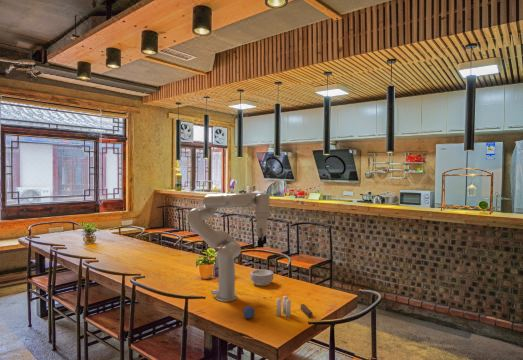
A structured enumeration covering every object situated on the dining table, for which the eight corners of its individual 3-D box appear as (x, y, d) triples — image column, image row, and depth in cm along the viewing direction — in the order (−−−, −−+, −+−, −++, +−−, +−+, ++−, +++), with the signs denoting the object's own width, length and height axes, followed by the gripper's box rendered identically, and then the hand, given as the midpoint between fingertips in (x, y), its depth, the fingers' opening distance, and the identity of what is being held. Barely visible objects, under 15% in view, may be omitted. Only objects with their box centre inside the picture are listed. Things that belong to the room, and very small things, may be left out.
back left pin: (282, 313, 185) (283, 297, 185) (283, 311, 188) (283, 295, 187) (287, 313, 185) (287, 297, 185) (287, 312, 187) (287, 296, 187)
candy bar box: (222, 272, 259) (222, 250, 258) (226, 273, 255) (227, 251, 255) (210, 275, 250) (210, 252, 250) (215, 276, 247) (215, 253, 246)
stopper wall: (308, 317, 180) (308, 312, 180) (300, 308, 192) (300, 304, 192) (312, 317, 181) (312, 312, 181) (304, 308, 193) (304, 303, 192)
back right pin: (285, 317, 180) (286, 301, 180) (285, 315, 183) (286, 299, 182) (290, 317, 180) (290, 301, 180) (290, 315, 182) (290, 299, 182)
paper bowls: (253, 279, 242) (253, 268, 242) (274, 281, 239) (275, 269, 239) (248, 286, 228) (248, 274, 227) (271, 288, 224) (271, 276, 224)
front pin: (276, 316, 182) (276, 299, 182) (276, 314, 184) (276, 298, 184) (280, 316, 181) (281, 300, 181) (281, 314, 184) (281, 298, 184)
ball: (242, 320, 176) (242, 308, 176) (243, 315, 182) (244, 303, 182) (253, 320, 176) (254, 309, 175) (255, 316, 182) (255, 304, 181)
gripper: (258, 213, 207) (258, 242, 207) (252, 217, 190) (252, 248, 190) (271, 213, 205) (271, 242, 206) (266, 217, 188) (266, 249, 189)
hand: (262, 245), depth 198 cm, fingers open, 9 cm apart
